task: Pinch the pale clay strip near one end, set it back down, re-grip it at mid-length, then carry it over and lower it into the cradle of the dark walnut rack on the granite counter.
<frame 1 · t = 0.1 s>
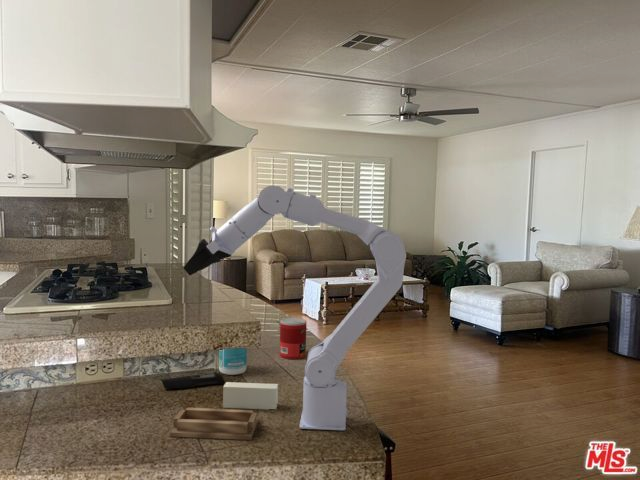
hand: (192, 269, 106), 32 cm above the countertop, tool tilted 50°, fingers open, 7 cm apart
walnut rack: (215, 428, 103), on the countertop
pill bottle: (232, 372, 138), on the countertop
canned food: (292, 356, 154), on the countertop
electric trimmer: (194, 387, 127), on the countertop
clay strip: (250, 406, 115), on the countertop
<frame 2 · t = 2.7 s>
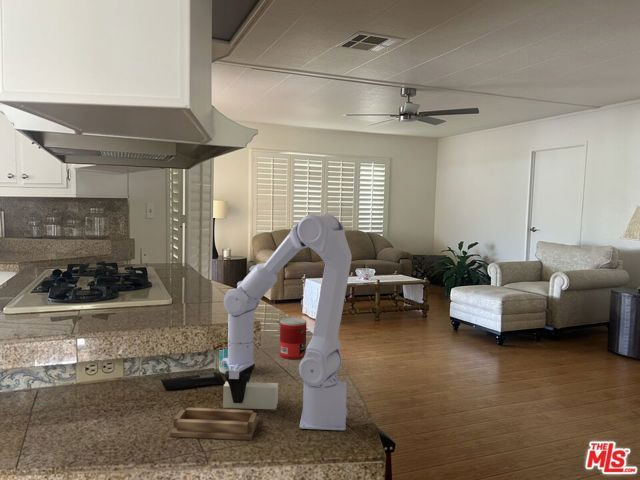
hand: (239, 399, 115), 1 cm above the countertop, tool pointing down, fingers closed on clay strip, 3 cm apart
clay strip: (250, 406, 115), on the countertop, touching gripper
everything else where it was.
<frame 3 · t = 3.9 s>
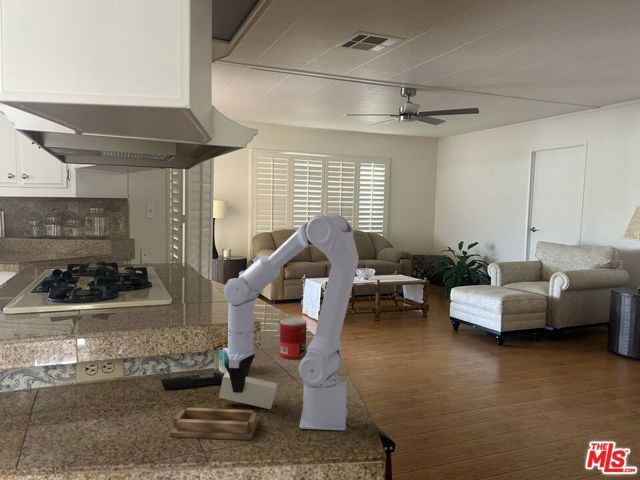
hand: (239, 389, 115), 4 cm above the countertop, tool pointing down, fingers closed on clay strip, 3 cm apart
clay strip: (246, 400, 115), point 1 cm above the countertop, tilted 11°, touching gripper
everything else where it was.
when the fingers open (3 cm above the countertop, at t = 10.8 s): clay strip stays where it is, resting on walnut rack.
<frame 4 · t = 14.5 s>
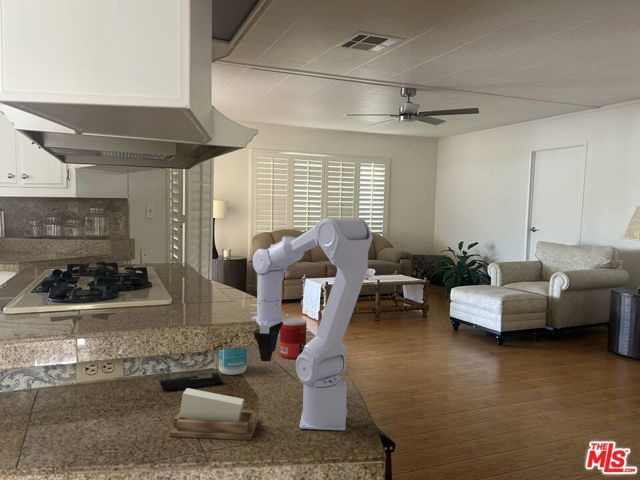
hand: (268, 355, 120), 10 cm above the countertop, tool pointing down, fingers open, 7 cm apart
clay strip: (209, 419, 103), point 2 cm above the countertop, tilted 9°, touching walnut rack
everything else where it was.
at the end: clay strip 1.3 cm off-centre on the walnut rack, point 1.7 cm above the walnut rack's base; clay strip tilted 9°; the gripper is holding nothing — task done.
